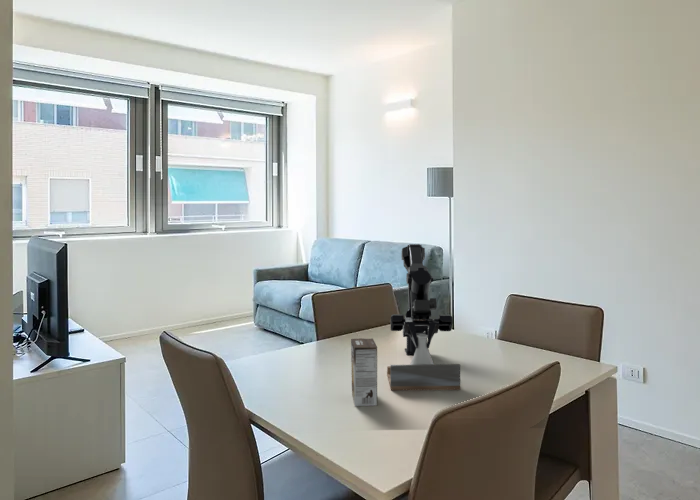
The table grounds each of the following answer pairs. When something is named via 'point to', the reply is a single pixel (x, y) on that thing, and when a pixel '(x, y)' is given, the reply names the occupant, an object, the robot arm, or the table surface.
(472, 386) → the table surface
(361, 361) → the coffee box
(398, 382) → the chalkboard eraser
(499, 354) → the table surface
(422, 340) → the flask
